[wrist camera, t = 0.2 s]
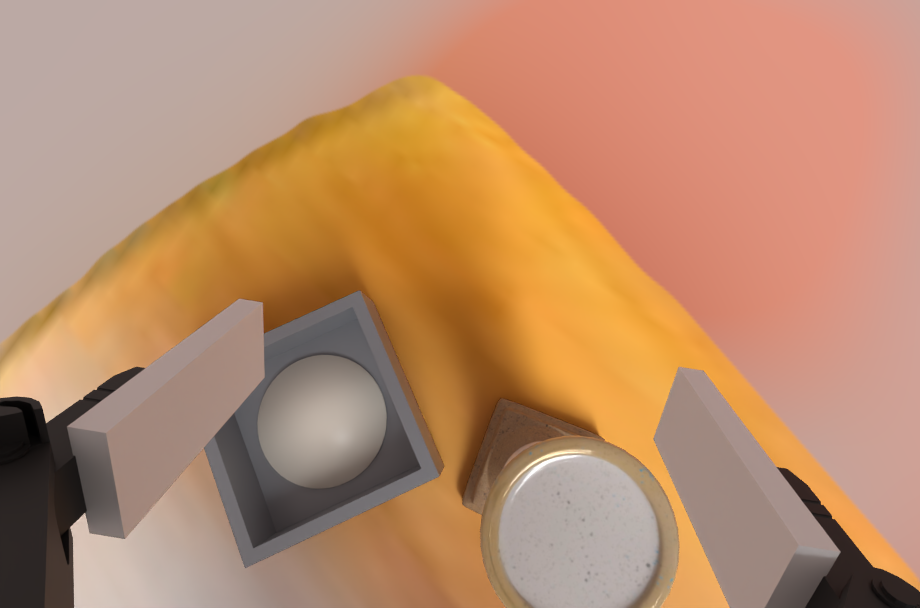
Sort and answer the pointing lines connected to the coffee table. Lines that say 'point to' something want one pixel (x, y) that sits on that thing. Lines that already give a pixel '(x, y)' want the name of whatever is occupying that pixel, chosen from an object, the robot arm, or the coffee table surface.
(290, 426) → the walled bin
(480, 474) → the candle holder
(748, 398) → the coffee table surface
